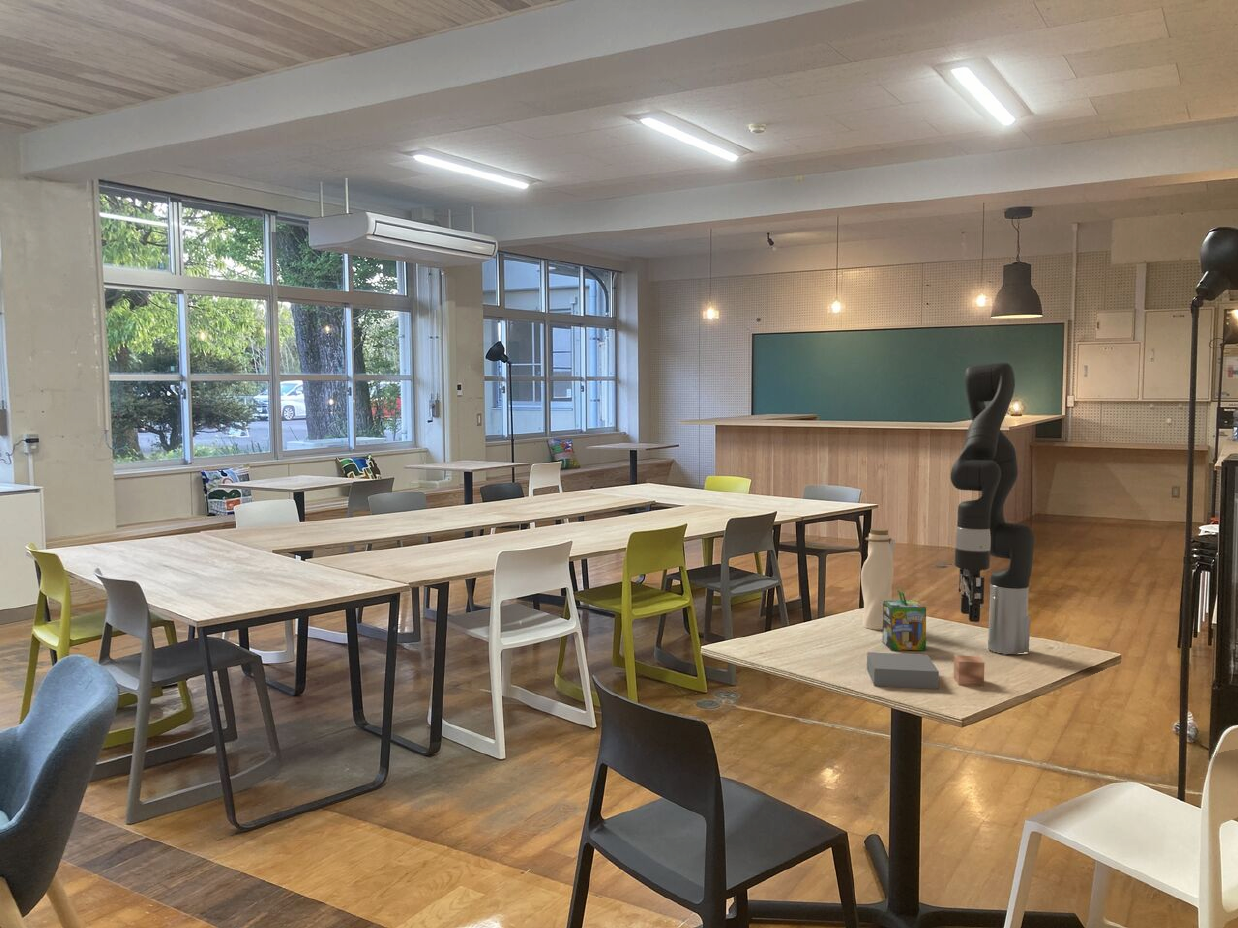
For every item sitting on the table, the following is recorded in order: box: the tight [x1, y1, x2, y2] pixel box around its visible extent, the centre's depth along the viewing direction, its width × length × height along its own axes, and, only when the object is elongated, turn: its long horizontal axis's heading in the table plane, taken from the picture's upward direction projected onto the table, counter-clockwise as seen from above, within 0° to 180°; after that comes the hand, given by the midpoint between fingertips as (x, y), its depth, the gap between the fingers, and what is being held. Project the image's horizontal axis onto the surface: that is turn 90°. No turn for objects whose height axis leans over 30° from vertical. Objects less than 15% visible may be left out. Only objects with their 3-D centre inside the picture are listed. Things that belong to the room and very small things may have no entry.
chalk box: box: [882, 589, 927, 651], centre depth 248 cm, size 9×9×15 cm
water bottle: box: [860, 527, 896, 631], centre depth 270 cm, size 10×9×28 cm
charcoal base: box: [866, 651, 940, 690], centre depth 220 cm, size 14×14×4 cm
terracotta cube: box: [953, 654, 986, 687], centre depth 217 cm, size 6×6×6 cm
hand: (969, 617), depth 217 cm, fingers open, 8 cm apart
